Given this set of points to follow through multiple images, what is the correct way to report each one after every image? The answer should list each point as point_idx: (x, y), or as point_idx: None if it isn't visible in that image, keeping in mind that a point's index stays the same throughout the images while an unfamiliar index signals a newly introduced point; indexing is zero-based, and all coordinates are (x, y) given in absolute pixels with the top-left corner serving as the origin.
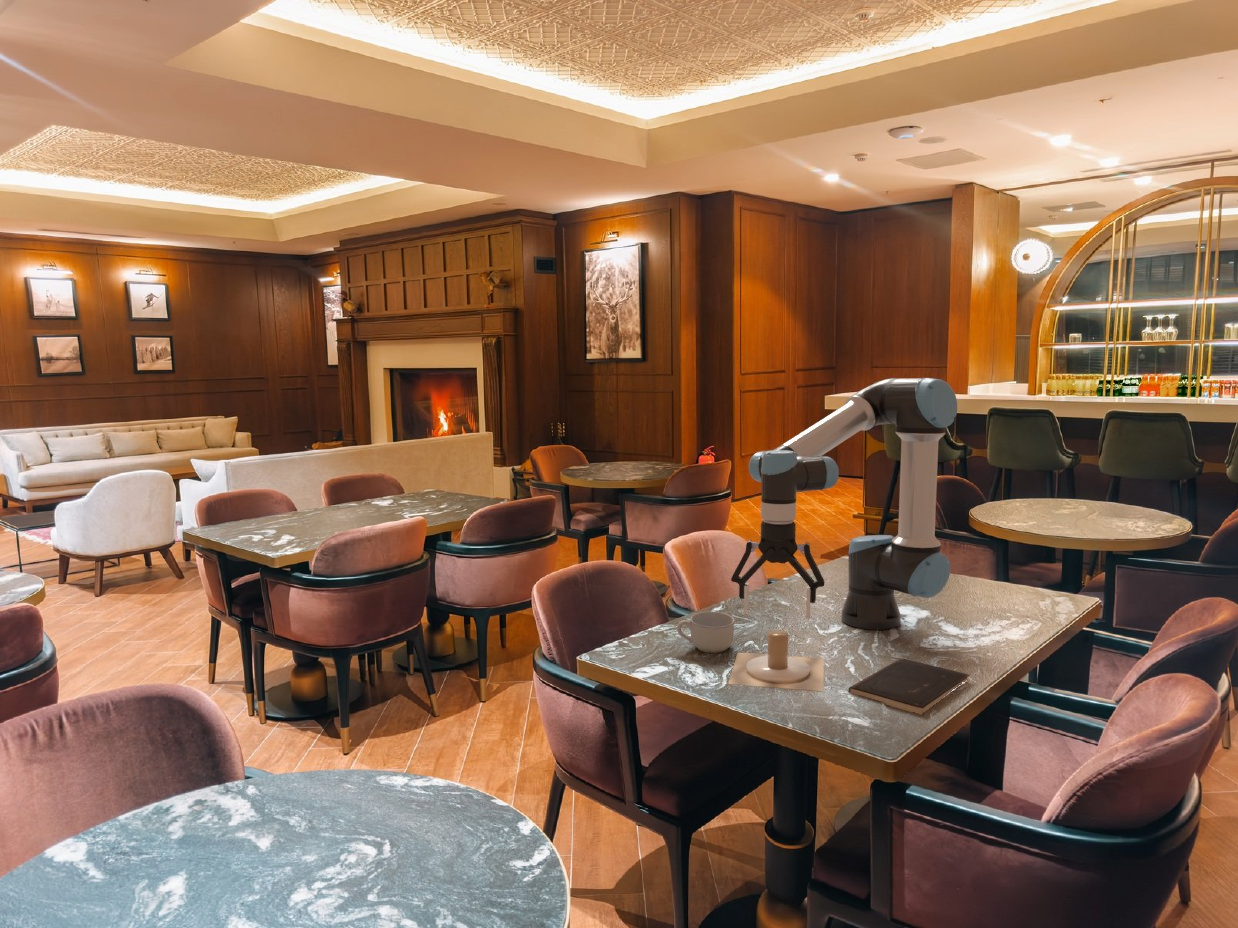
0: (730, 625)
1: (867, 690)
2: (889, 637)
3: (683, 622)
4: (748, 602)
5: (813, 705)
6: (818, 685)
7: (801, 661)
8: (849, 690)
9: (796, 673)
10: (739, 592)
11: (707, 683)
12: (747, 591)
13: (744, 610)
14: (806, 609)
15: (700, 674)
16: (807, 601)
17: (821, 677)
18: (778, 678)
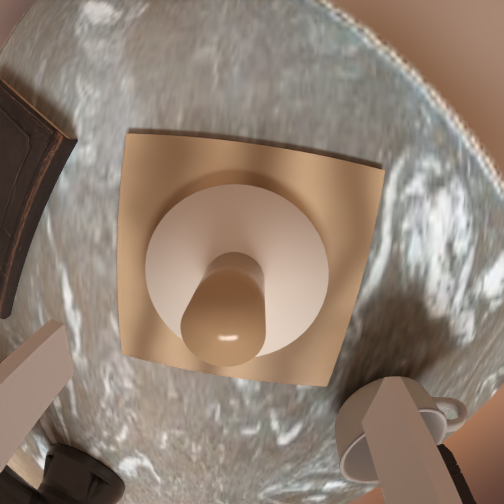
0: (360, 434)
1: (39, 122)
2: (48, 420)
3: (461, 419)
4: (372, 455)
5: (165, 55)
6: (133, 172)
7: (166, 316)
8: (71, 141)
9: (182, 225)
10: (459, 470)
11: (428, 189)
12: (432, 483)
13: (405, 390)
14: (37, 348)
15: (436, 250)
16: (6, 374)
17: (122, 230)
18: (240, 185)
